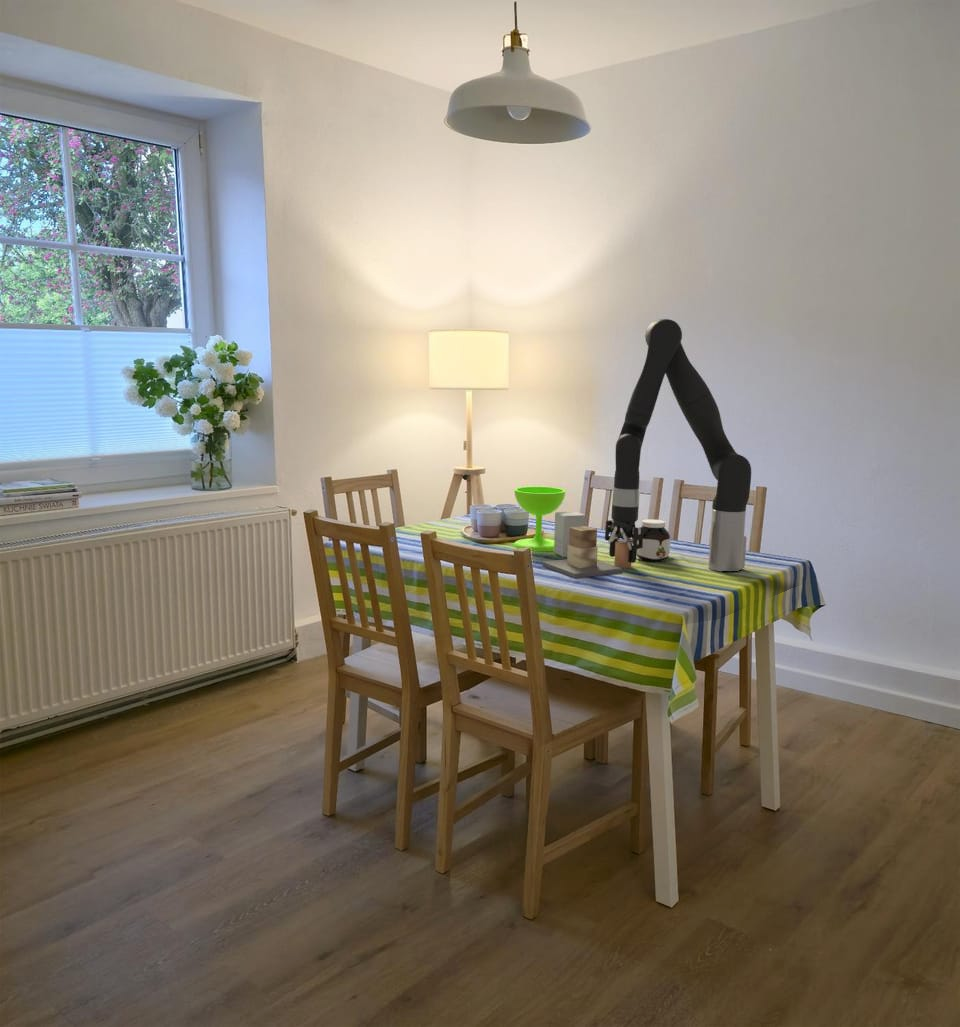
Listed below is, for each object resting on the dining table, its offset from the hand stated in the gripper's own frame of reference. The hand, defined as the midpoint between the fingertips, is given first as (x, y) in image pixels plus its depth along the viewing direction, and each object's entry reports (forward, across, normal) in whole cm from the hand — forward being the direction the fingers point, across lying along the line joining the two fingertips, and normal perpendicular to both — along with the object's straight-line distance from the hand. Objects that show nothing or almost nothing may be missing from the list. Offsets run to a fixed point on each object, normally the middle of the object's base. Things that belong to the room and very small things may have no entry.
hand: (622, 559), depth 255 cm
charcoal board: (+2, +2, +13) cm, 13 cm away
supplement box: (+2, +20, +5) cm, 21 cm away
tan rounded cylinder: (+2, 0, 0) cm, 2 cm away
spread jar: (+2, +5, -15) cm, 16 cm away
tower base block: (+1, +2, +13) cm, 13 cm away
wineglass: (+3, +34, +7) cm, 35 cm away
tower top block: (-4, +2, +13) cm, 14 cm away
